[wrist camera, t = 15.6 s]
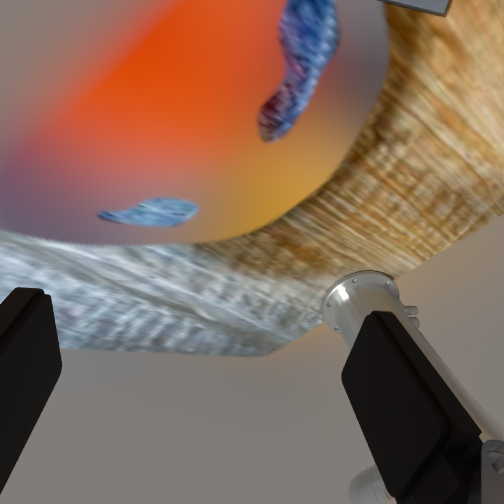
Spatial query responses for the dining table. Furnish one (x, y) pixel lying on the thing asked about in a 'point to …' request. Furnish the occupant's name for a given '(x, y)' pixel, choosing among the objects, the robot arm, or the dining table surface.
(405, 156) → the dining table surface
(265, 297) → the dining table surface
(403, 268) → the dining table surface
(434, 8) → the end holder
